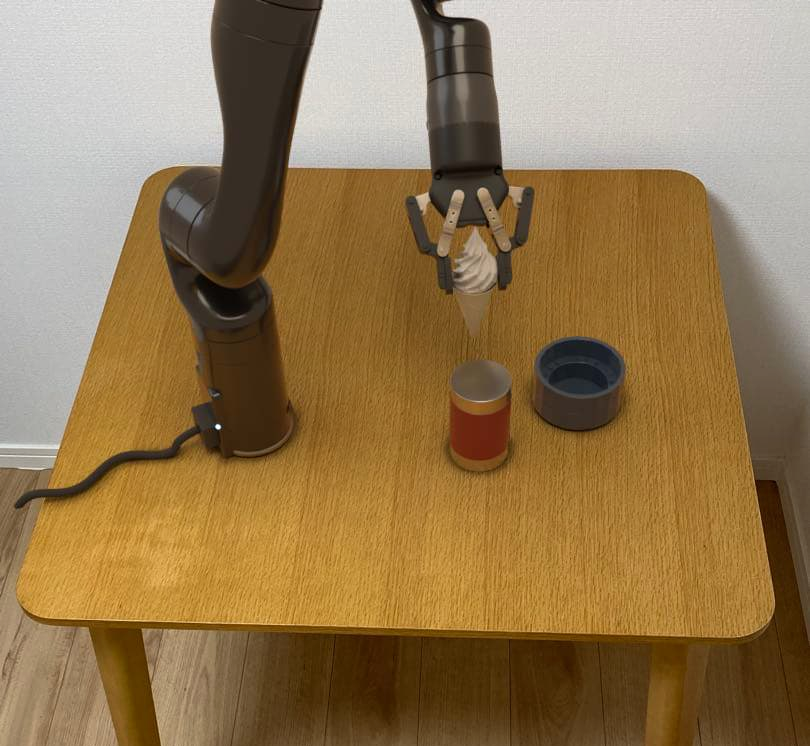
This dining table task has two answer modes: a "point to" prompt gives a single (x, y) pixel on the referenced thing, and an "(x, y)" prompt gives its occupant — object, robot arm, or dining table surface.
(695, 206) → the dining table surface
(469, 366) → the tin can
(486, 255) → the ice cream cone
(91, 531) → the dining table surface
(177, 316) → the dining table surface
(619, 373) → the bowl
